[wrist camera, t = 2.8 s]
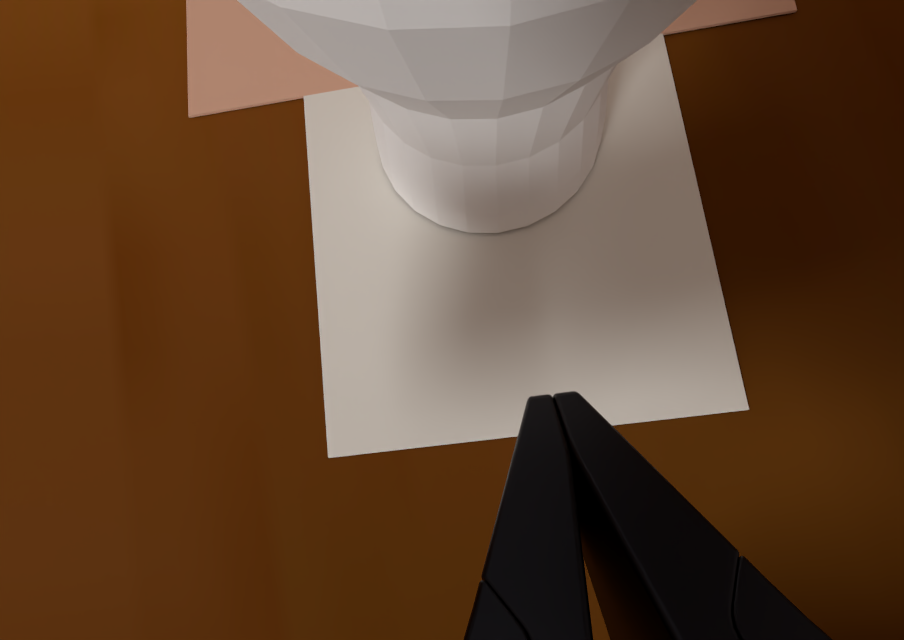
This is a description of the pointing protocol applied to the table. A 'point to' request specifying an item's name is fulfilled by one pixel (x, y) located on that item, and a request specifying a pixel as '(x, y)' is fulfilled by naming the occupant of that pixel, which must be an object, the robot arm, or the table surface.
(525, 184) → the white vase
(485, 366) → the t mat
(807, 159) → the table surface
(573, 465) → the robot arm
